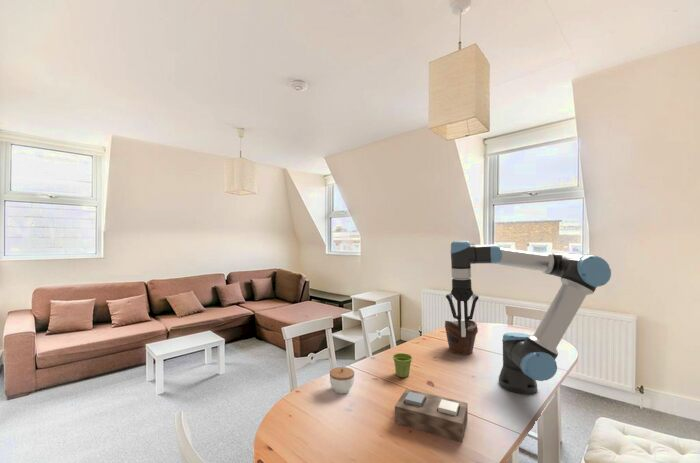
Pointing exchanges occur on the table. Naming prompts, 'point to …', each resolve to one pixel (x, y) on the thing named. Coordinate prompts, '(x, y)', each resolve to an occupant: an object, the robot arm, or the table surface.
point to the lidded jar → (341, 379)
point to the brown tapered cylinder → (461, 343)
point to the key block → (432, 416)
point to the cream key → (448, 407)
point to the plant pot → (402, 364)
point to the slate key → (415, 399)
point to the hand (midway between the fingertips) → (463, 335)
